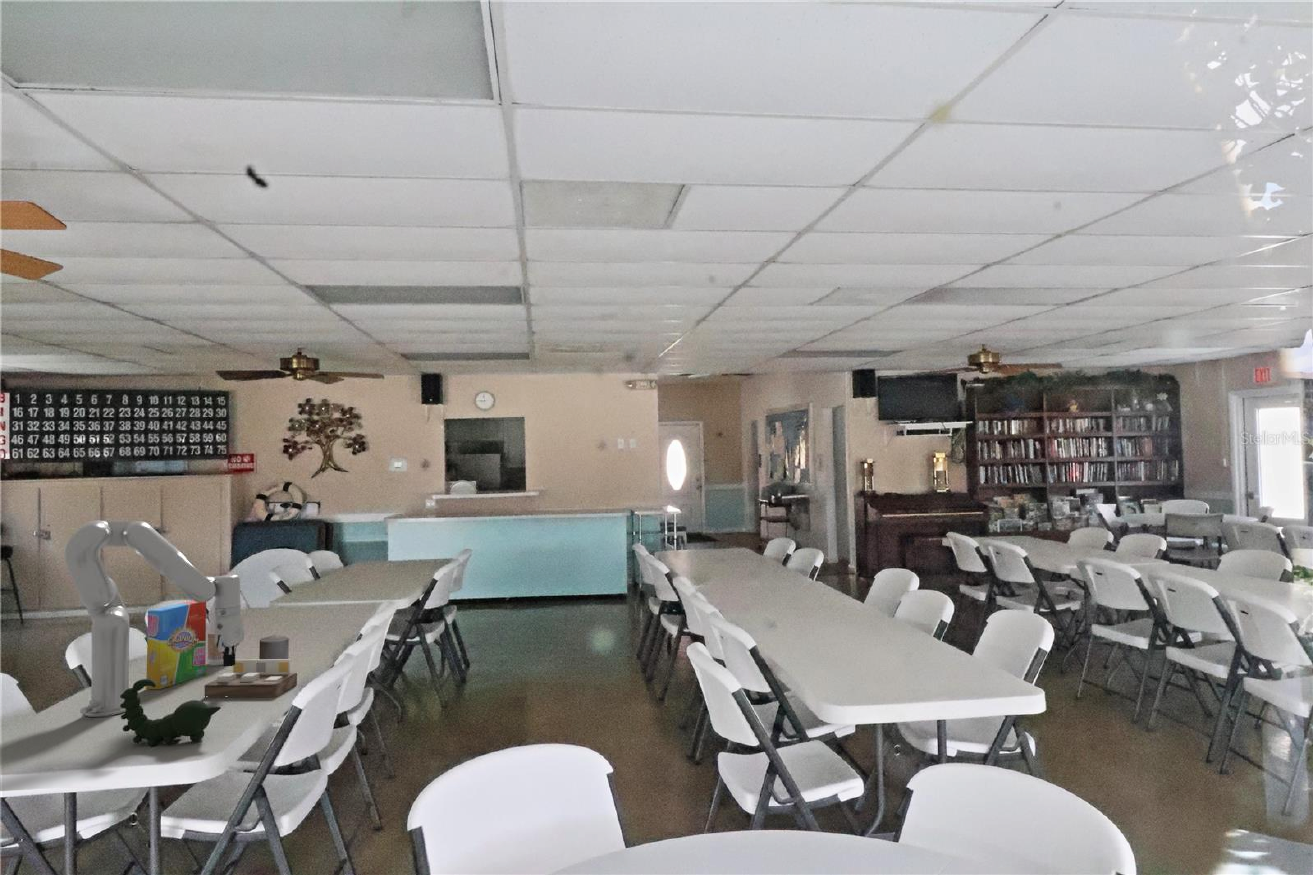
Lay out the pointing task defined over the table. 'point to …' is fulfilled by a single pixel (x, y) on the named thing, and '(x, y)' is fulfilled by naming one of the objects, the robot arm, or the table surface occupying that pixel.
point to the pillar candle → (274, 647)
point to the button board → (251, 686)
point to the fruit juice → (213, 640)
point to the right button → (273, 678)
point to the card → (262, 666)
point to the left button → (227, 677)
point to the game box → (176, 643)
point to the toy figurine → (164, 718)
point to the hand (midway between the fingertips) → (229, 665)
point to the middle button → (250, 677)
